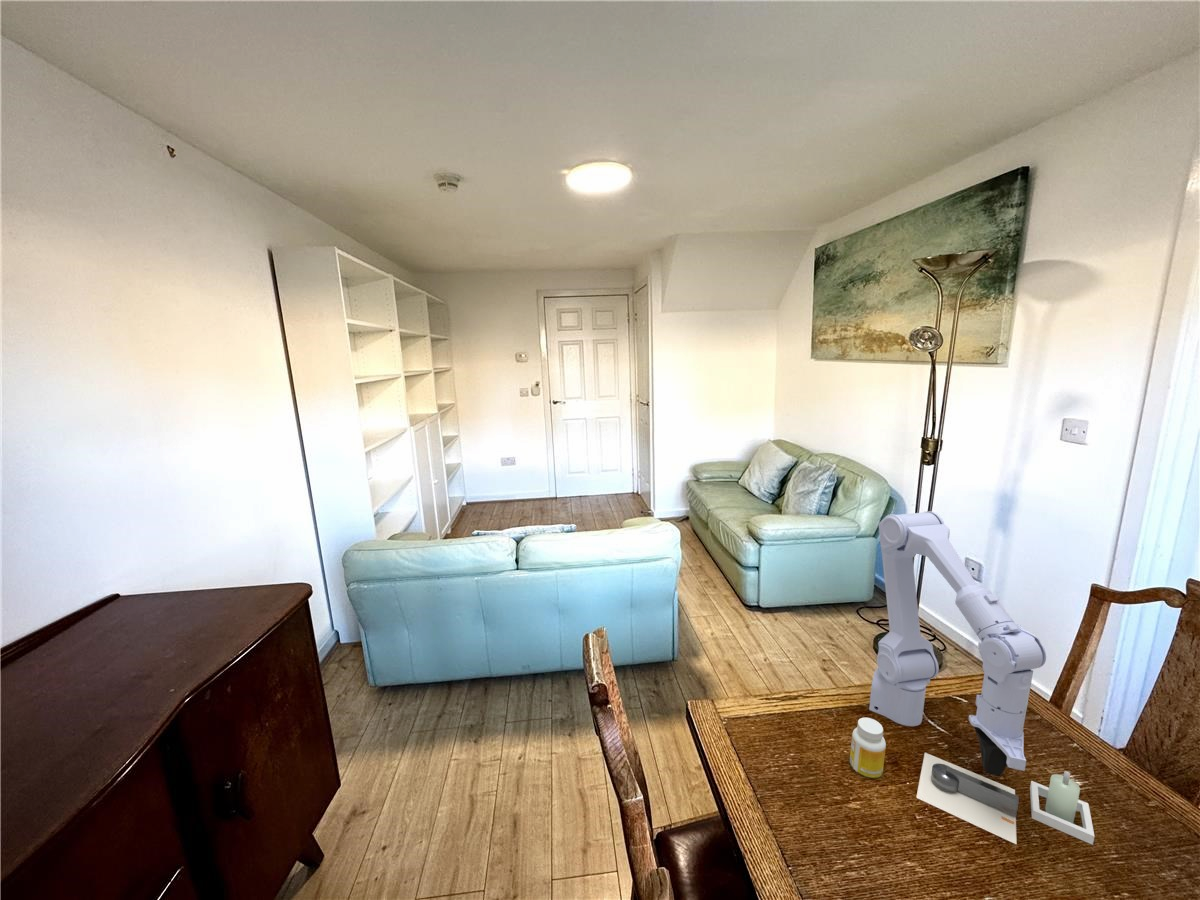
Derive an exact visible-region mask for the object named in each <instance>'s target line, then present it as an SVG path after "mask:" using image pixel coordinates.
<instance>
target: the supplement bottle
mask: <svg viewBox="0 0 1200 900" xmlns="http://www.w3.org/2000/svg"><path fill="white" fill-rule="evenodd" d="M856 726H857V727H855V728H853V730H852V735H851V741H850V742H851V745H850V755H849V764H850V767H851V768H852V769H853V770H855V772H856V773H858V774H859V775H861V776H863V777H865V778H869V779H878V778H880V777H882V776H883V773H884V764H885V757H886V748H887V744H886V740H885V738H884V727H883V725H882V724H881V723H880V722H879V721H877V720H876V719H874V718H870V717H861V718H859V719H858V721H857V725H856Z"/></svg>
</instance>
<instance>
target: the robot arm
mask: <svg viewBox="0 0 1200 900" xmlns="http://www.w3.org/2000/svg"><path fill="white" fill-rule="evenodd" d="M878 532H879V533H878V535H879V543H880V551H881V558H882V559H881V560H882V568H883V577H884V588H885V596H886V607H887V614H888V615H887V616H888V625H889V630H888V631H889V632H887V633H886V634H885V635H884V636H883V637H882V638H881V639H880V640H879V641H878V643H877V644H878V645H877V646H878V652H877V656H876V665H877V667H876V668H875V669H874V672H873V677H872V682H871V687H870V689H871V690H870V696H869V706H868V707H869V708H868V709H869V711H870V712H873V713H876V714H879V715H881V716H883V717H885V718H887V719H889V720H891V721H892V722H895V723H897V724H899V725H902V726H906V727H916V726H919V725H921V724H922V722H923V717H924V715H923V714H924V708H925V707H924V706H925V700H926V690H927V686H928V685H930V683H931V679H935V678H937V676H938V675H939V672H940V671H939V670H940V669H939V663H938V659H937V658H936V656H935V653H934V646H933V643H932V642H930V641H929V640H928V639H927V638H925V637H924V636H922V635H921V626H920V625H921V624H920V618H919V617H920V616H919V615H920V614H919V607H918V606H919V605H918V598H917V587H916V577H915V569H914V561H913V558H914V556H916V555H920V556H924V557H927V558H928V560H929V561H930V562H931V563H932V564H933V565H934V567H935V568H936V570H937V571H938V572H939V573H940V574H941V576H942V577H943V578H944V579H945V580H946V582H947V583H948V584H949V585H950V587H951V588H952V589H953V590H954V592H955V593H956V597H955V600H954V601H955V605H956V607H957V608H958V609H959V611H960V613H961V614H962V615H963V617H964V618H965V620H966V622H967V623H968V625H969V626H970V627H971V629H972V630H973V631H974V634H975V635H976V636H977V638H978V639H979V640H980V642H978V644H977V645H978V651H979V655H980V657H981V659H982V670H983V672H984V673H983V681H982V686H981V694H976V696H975V697H976V698H975V706H976V707H977V708H976V715H973V714H969V715H968V721H969V724H970V725H971V726H972V727H974V730H975V733H976V735H977V739H978V742H979V751H980V756H981V765H982V767H983V769H984V773H986V774H988V775H991V776H995V777H996V776H997V777H1001V776H1002V775H1003V773H1004V772H1005V770H1006V768H1007V767H1008V768H1010V769H1013V770H1018V771H1023V772H1025V771H1026V770H1025V769H1026V764H1027V759H1026V757H1025V754H1024V747H1025V746H1024V743H1025V742H1024V741H1025V739H1024V737H1025V733H1024V725H1025V720H1026V713H1027V708H1028V703H1029V699H1030V698H1029V697H1030V691H1031V686H1032V680H1033V675H1034V670H1036V669H1038V668H1039V669H1040V668H1041V667H1043V666H1044V665H1045V663H1046V661H1047V652H1046V650H1045V648H1044V645H1043V644H1042V643H1041V640H1040V639H1039V637H1038V636H1037V635H1035V634H1034V633H1033V632H1031V631H1029V630H1027V629H1025V628H1024V627H1022V625H1021V624H1019V623H1016V622H1015V621H1014V620H1013V618H1012V617H1011V615H1010V614H1009V613H1008V612H1007V611H1006V609H1005V607H1003V605H1002V604H1001V602H1000V601H999V599H998V597H997V595H995V594H994V592H992V591H991V590H990V589H988V588H986V587H983V586H979V585H978V584H977V582H976V581H975V580H974V578H973V576H972V575H971V573H970V572H969V569H968V568H967V566H966V565H965V564H964V562H963V560H962V559H961V558H960V556H959V554H958V552H957V550H956V549H955V548H954V546H953V544H952V543H951V541H950V535H951V534H950V533H951V532H950V528H949V526H948V525H946V524H945V522H944V520H943V518H942V517H941V515H940V514H938V513H936V512H934V511H930V510H928V511H924V512H914V513H902V514H894V513H891V514H887V515H886V516H884V517H883V518H882V520H881V521H880V522H879V523H878ZM876 707H877V708H876Z"/></svg>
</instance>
